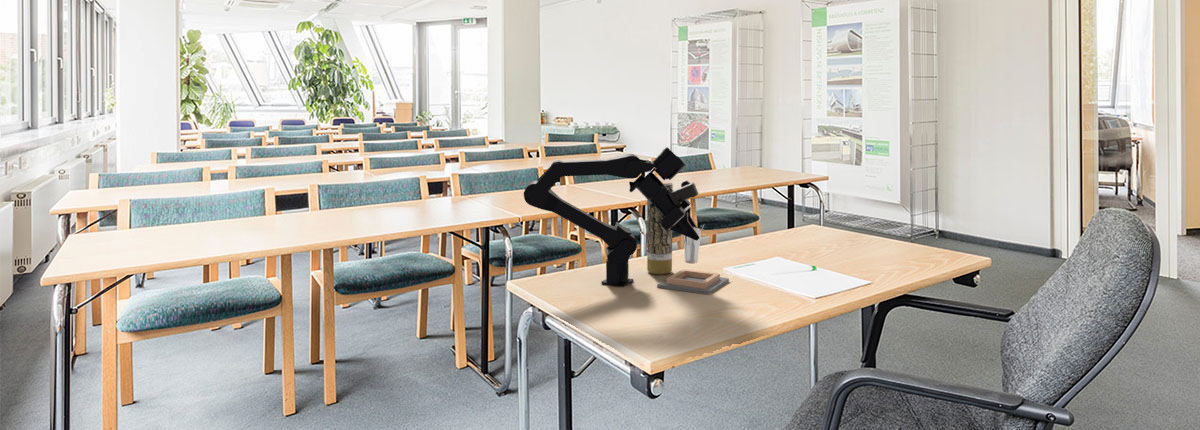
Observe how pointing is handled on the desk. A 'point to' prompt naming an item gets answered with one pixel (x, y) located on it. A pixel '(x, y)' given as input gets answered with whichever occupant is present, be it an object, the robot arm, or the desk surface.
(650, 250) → the brown tall cylinder
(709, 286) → the dock
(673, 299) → the desk surface
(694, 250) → the milkshake
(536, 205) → the robot arm
